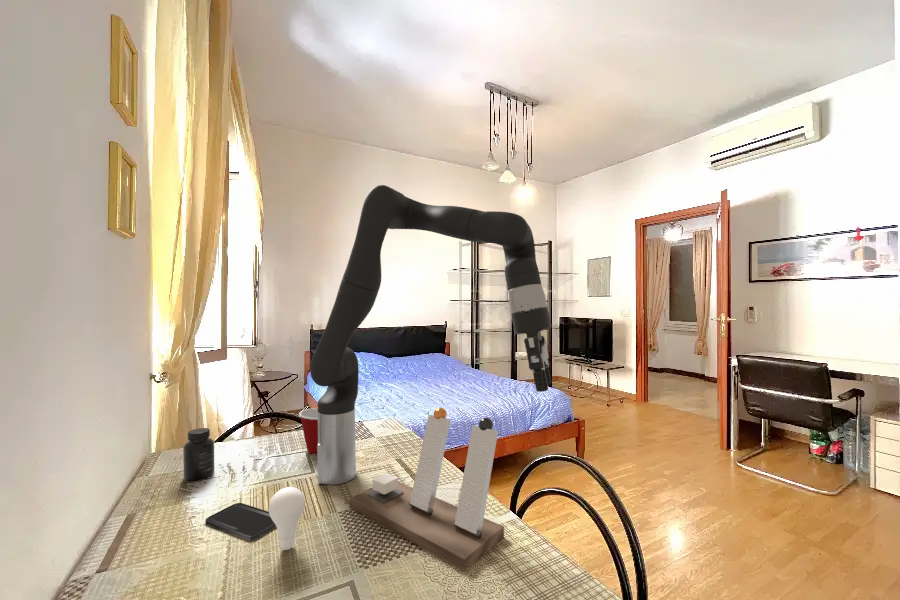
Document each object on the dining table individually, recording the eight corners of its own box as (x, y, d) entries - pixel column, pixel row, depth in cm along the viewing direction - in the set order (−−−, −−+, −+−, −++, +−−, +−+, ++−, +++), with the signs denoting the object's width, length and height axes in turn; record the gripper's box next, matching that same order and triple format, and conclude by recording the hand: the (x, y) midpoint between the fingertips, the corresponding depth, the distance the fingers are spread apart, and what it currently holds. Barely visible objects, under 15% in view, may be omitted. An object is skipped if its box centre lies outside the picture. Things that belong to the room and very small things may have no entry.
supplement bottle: (177, 480, 100) (176, 433, 100) (202, 469, 106) (202, 425, 106) (195, 484, 97) (194, 436, 97) (220, 473, 103) (220, 427, 103)
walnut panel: (391, 486, 94) (391, 477, 94) (504, 536, 73) (503, 524, 73) (349, 507, 85) (349, 496, 85) (464, 571, 64) (464, 556, 64)
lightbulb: (292, 562, 67) (291, 498, 67) (261, 558, 68) (260, 495, 68) (312, 540, 73) (311, 482, 73) (283, 537, 74) (282, 479, 74)
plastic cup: (330, 458, 112) (329, 416, 112) (293, 458, 112) (292, 417, 112) (341, 444, 123) (341, 406, 123) (307, 444, 123) (307, 406, 123)
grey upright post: (459, 526, 74) (479, 415, 79) (483, 537, 70) (502, 420, 76) (450, 527, 72) (471, 414, 77) (474, 539, 68) (495, 419, 74)
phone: (238, 501, 87) (285, 517, 80) (238, 506, 87) (286, 522, 80) (202, 520, 79) (251, 538, 73) (202, 525, 79) (251, 544, 73)
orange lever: (415, 505, 82) (436, 406, 87) (434, 514, 78) (455, 410, 83) (405, 506, 80) (427, 404, 85) (425, 515, 76) (447, 408, 81)
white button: (386, 486, 89) (386, 472, 89) (398, 491, 86) (398, 477, 86) (372, 492, 86) (372, 479, 86) (384, 498, 83) (384, 484, 83)
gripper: (516, 314, 88) (530, 386, 86) (504, 310, 75) (521, 396, 72) (549, 307, 86) (565, 381, 84) (544, 303, 72) (562, 390, 70)
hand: (544, 388), depth 78 cm, fingers open, 8 cm apart
